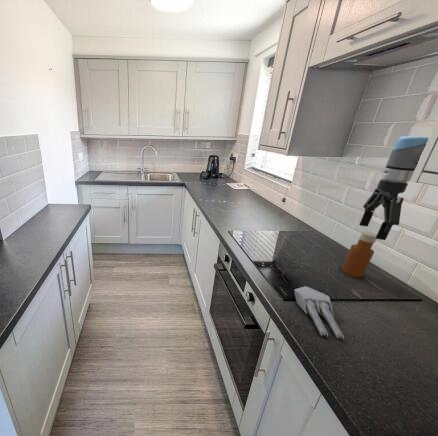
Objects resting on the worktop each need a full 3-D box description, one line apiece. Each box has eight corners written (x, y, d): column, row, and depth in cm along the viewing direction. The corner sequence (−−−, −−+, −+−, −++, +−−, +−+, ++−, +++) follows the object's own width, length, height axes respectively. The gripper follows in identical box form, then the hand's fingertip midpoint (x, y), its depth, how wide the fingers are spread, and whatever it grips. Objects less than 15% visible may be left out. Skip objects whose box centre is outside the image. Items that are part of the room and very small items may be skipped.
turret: (311, 339, 71) (317, 330, 68) (288, 289, 87) (292, 280, 85) (347, 345, 69) (354, 336, 67) (317, 293, 86) (322, 284, 84)
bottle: (358, 269, 103) (372, 238, 97) (365, 279, 97) (382, 246, 91) (338, 266, 106) (352, 235, 99) (345, 274, 99) (360, 242, 93)
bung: (368, 245, 98) (374, 232, 95) (374, 250, 93) (380, 237, 91) (354, 242, 99) (360, 230, 97) (359, 248, 95) (365, 235, 93)
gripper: (365, 173, 97) (347, 219, 105) (402, 187, 76) (375, 243, 84) (387, 175, 95) (367, 222, 103) (432, 189, 73) (402, 247, 81)
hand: (371, 232), depth 93 cm, fingers open, 13 cm apart
